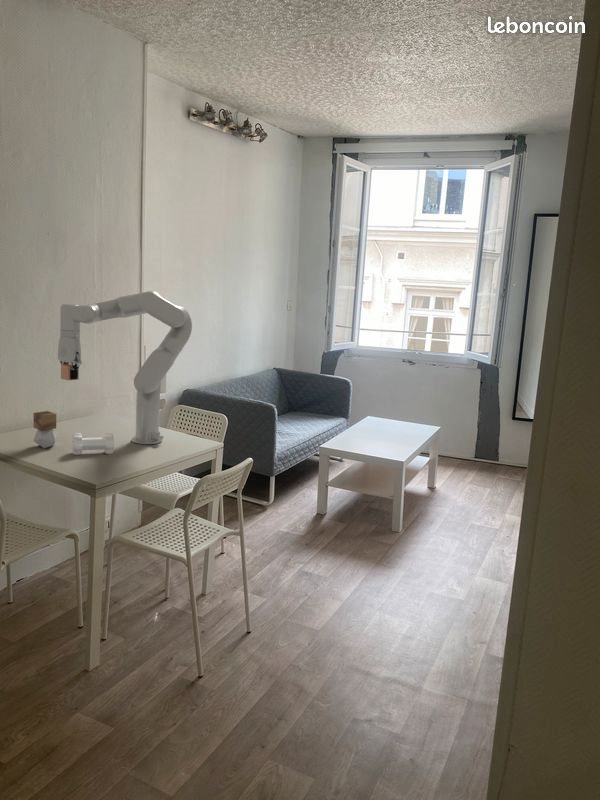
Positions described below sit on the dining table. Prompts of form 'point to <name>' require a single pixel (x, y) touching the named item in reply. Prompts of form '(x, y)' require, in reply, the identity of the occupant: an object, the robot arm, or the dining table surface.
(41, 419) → the block walnut
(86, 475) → the dining table surface
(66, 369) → the block terracotta
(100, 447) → the dog bone
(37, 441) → the die
